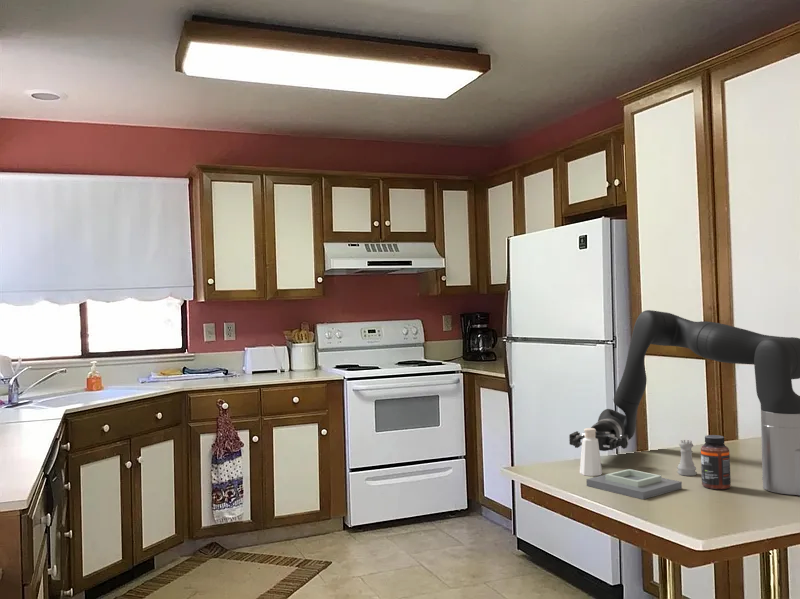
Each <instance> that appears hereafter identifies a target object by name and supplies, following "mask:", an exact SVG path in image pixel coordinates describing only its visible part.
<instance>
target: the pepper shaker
mask: <svg viewBox="0 0 800 599" xmlns="http://www.w3.org/2000/svg"><path fill="white" fill-rule="evenodd" d="M583 431H584V432H583V433H585V434H584V435H585V438H584V439H581V442H582V445H581V451H580V452H581V453H580V464H579V474H580V475H583V476H586V477H598V476H602V474H603V469H602V460H601V453H600V450H599V444H598V439H596V438H595V434H596V433H595V432H596V429H594V428H591V427H585V428H584V429H583Z"/></svg>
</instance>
